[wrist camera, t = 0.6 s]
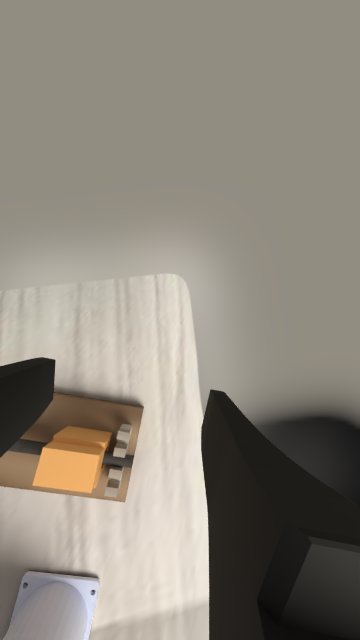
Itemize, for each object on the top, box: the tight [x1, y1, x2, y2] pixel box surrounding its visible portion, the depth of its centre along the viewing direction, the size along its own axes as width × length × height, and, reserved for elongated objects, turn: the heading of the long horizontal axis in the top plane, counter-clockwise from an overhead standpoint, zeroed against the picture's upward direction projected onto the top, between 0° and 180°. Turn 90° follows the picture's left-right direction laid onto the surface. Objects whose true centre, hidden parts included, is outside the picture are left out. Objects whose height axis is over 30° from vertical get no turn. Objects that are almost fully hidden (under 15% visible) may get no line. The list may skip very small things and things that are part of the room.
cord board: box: [0, 392, 144, 502], centre depth 24 cm, size 10×28×6 cm, turn 80°
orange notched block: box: [33, 426, 112, 493], centre depth 23 cm, size 4×5×6 cm
